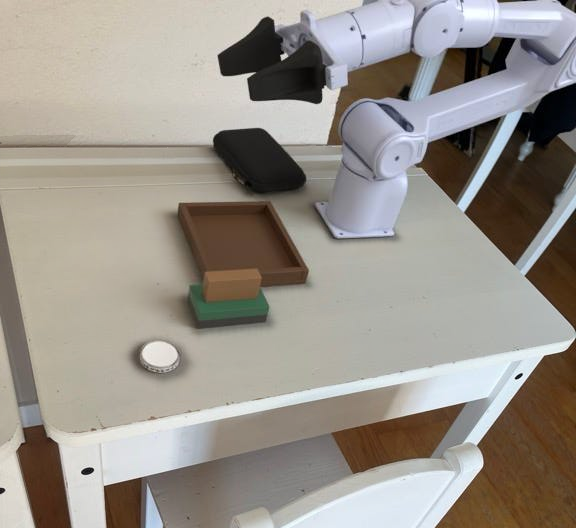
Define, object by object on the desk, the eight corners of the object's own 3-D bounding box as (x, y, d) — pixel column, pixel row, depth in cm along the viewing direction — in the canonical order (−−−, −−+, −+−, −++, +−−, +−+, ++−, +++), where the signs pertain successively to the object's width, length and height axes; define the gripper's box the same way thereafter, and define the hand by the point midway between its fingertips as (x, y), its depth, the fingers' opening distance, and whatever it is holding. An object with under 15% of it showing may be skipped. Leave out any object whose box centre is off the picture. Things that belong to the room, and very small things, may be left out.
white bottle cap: (152, 338, 65) (153, 334, 65) (186, 354, 65) (187, 350, 64) (131, 361, 62) (132, 357, 62) (166, 378, 62) (166, 374, 61)
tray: (267, 214, 85) (270, 200, 84) (305, 283, 77) (309, 270, 75) (177, 216, 80) (178, 202, 79) (207, 291, 72) (209, 276, 70)
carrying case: (200, 145, 93) (245, 201, 86) (202, 126, 91) (249, 182, 84) (261, 140, 98) (309, 192, 91) (265, 122, 96) (314, 174, 89)
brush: (187, 301, 70) (191, 263, 66) (253, 295, 73) (261, 259, 69) (197, 328, 68) (202, 291, 64) (265, 322, 71) (274, 285, 67)
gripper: (314, -17, 68) (200, 15, 65) (386, 18, 59) (258, 58, 56) (318, 51, 74) (213, 84, 71) (385, 93, 65) (268, 133, 61)
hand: (234, 77), depth 64 cm, fingers open, 7 cm apart
